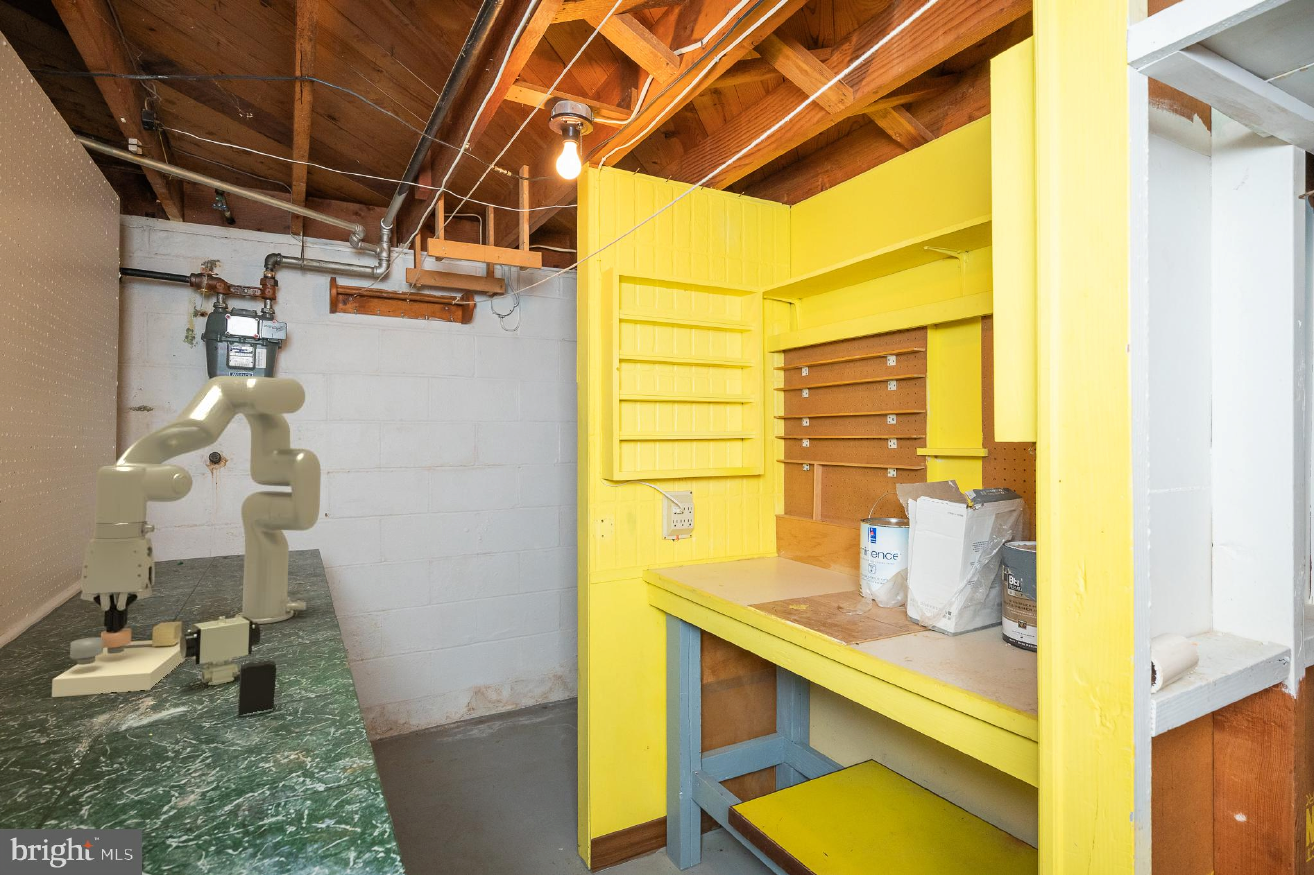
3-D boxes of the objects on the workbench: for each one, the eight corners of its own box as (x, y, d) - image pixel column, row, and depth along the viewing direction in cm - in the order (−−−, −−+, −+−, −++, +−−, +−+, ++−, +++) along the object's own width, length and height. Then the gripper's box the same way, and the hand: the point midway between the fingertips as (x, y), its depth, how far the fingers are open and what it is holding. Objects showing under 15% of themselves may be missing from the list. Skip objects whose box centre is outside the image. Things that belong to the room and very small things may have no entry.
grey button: (107, 657, 120) (108, 636, 120) (95, 665, 116) (96, 643, 116) (77, 659, 119) (78, 638, 119) (64, 667, 115) (65, 645, 115)
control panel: (193, 652, 138) (194, 637, 138) (149, 690, 117) (150, 672, 117) (112, 657, 134) (113, 642, 134) (51, 697, 113) (52, 679, 113)
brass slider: (181, 639, 136) (181, 621, 136) (173, 645, 132) (174, 626, 132) (160, 640, 135) (161, 622, 135) (152, 646, 131) (152, 628, 131)
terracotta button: (134, 647, 127) (135, 627, 127) (124, 654, 123) (125, 633, 123) (107, 648, 125) (107, 628, 125) (95, 656, 121) (96, 635, 121)
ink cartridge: (272, 707, 111) (275, 659, 112) (273, 712, 109) (276, 663, 110) (237, 712, 109) (240, 663, 109) (238, 717, 107) (241, 667, 107)
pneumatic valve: (259, 678, 125) (261, 613, 125) (184, 694, 116) (187, 624, 116) (249, 670, 128) (251, 608, 129) (176, 685, 120) (179, 618, 120)
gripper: (174, 529, 130) (170, 623, 130) (81, 529, 126) (76, 627, 125) (159, 533, 123) (154, 633, 123) (60, 534, 118) (54, 638, 118)
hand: (115, 630), depth 124 cm, fingers closed
